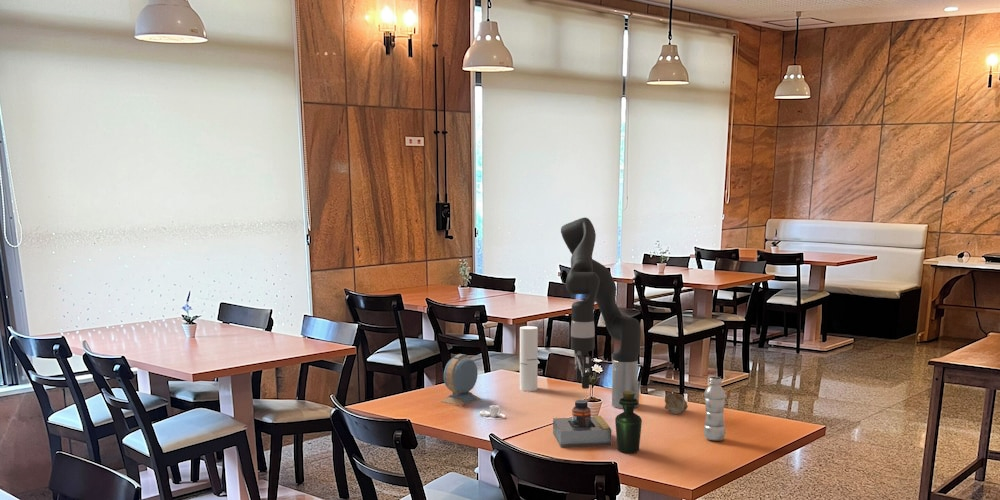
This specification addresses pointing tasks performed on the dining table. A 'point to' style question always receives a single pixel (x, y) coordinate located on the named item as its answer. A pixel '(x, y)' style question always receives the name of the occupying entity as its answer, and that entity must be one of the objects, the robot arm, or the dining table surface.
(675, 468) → the dining table surface
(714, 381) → the plastic bottle
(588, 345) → the robot arm
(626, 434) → the potion bottle
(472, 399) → the alarm clock
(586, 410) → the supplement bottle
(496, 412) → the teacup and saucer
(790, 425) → the dining table surface
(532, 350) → the cylindrical container
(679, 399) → the grey brown rock
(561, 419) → the jig
